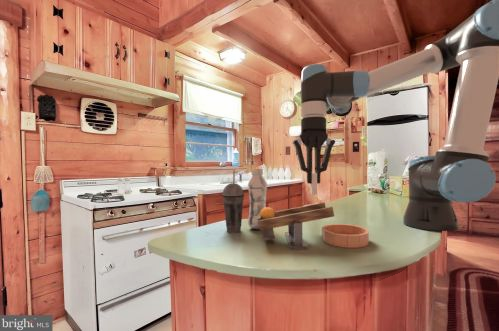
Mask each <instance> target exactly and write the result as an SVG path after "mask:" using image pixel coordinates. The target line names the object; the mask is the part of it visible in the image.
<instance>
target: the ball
mask: <svg viewBox="0 0 499 331" xmlns="http://www.w3.org/2000/svg"><path fill="white" fill-rule="evenodd" d="M274 212H275V211H274V209H273V208H271V207H269V206H266V207H265V208H263V209H262V210H261V212H260V216H261V218H262V220H264V219H269V218H274Z"/></svg>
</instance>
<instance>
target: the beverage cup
mask: <svg viewBox="0 0 499 331" xmlns="http://www.w3.org/2000/svg"><path fill="white" fill-rule="evenodd" d="M235 174H236V170H235V169H233V170H232V175H233V176H232V182H231V183H228V184H226V186H225V187H224V188H223V190H222V195H221V196H222V201H223V204H224V206H223V207H224V216H225V226H226V231H227V232H228V233H238V232H241V230H242V229H241V228H242V220H243V208H244V206H243V204H244V200H245V199H244V198H245V193H244V189H243V187H242V186H241V185H240V184H238V183H236V182H235V180H236V179H235V178H236V177H235V176H236V175H235Z"/></svg>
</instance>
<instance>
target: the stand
mask: <svg viewBox="0 0 499 331" xmlns="http://www.w3.org/2000/svg"><path fill="white" fill-rule="evenodd" d="M287 226H288V229H287V231H285V232H284V236H285V238H286V240H287V243H288V245H289V247H290V250H307V249H308V245H307V244H306V242H305V240H304V239H303V222H294V224H292V225H287Z"/></svg>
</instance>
